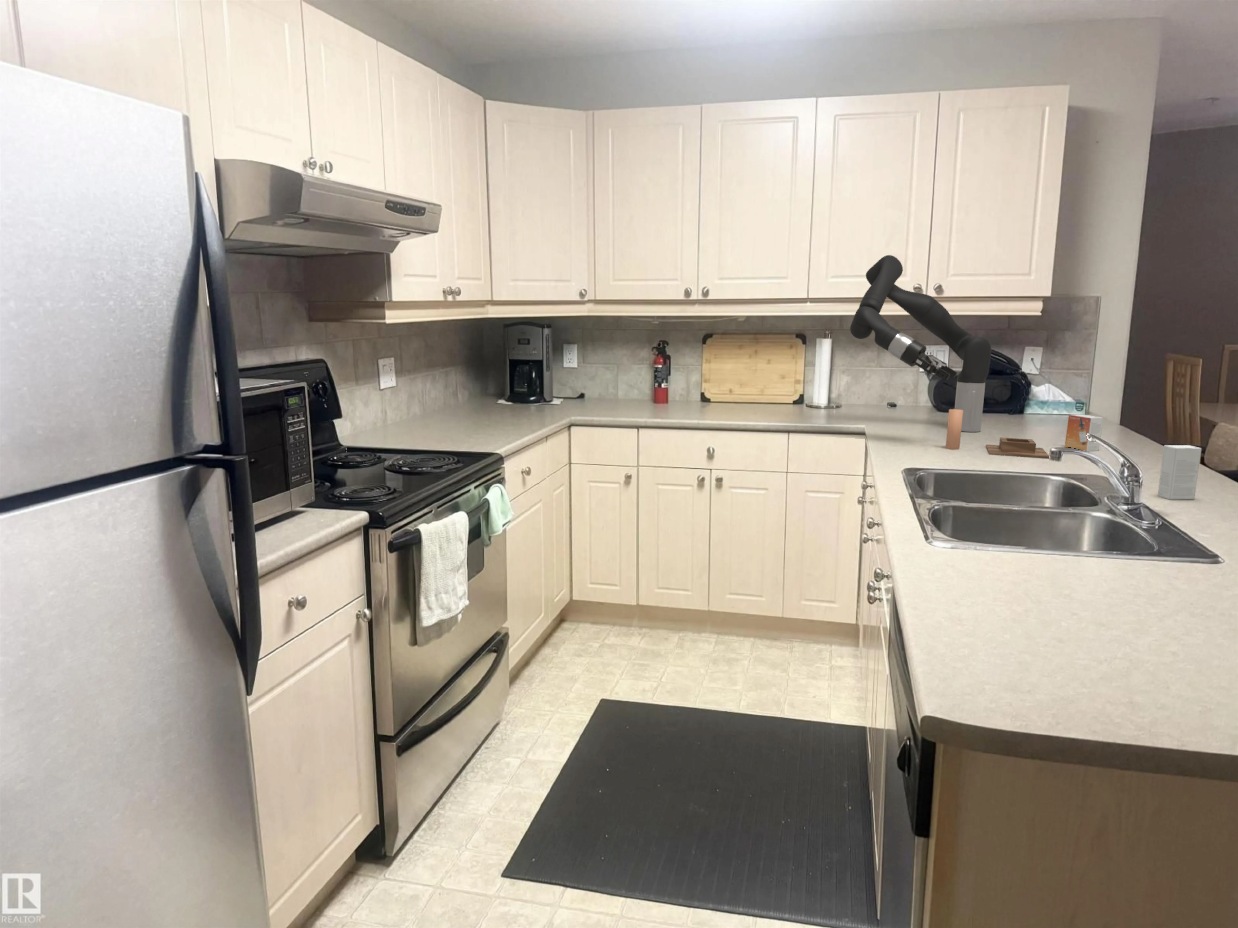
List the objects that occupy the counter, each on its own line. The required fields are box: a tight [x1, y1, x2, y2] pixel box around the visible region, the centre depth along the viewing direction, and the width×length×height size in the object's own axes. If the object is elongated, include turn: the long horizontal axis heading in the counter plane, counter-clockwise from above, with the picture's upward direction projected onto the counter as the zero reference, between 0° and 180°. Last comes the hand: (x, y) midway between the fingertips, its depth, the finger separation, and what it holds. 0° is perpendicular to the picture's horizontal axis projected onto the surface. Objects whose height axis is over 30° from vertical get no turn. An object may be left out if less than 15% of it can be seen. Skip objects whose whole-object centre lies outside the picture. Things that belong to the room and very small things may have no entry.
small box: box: [1064, 413, 1104, 452], centre depth 249 cm, size 8×6×10 cm
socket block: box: [985, 437, 1050, 460], centre depth 242 cm, size 16×16×4 cm
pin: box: [945, 408, 963, 451], centre depth 246 cm, size 4×4×12 cm
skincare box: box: [1157, 444, 1202, 500], centre depth 183 cm, size 6×4×12 cm
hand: (951, 376), depth 245 cm, fingers open, 8 cm apart
